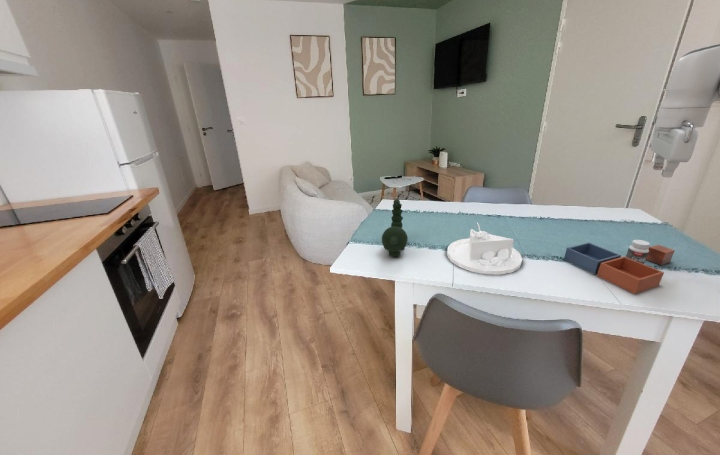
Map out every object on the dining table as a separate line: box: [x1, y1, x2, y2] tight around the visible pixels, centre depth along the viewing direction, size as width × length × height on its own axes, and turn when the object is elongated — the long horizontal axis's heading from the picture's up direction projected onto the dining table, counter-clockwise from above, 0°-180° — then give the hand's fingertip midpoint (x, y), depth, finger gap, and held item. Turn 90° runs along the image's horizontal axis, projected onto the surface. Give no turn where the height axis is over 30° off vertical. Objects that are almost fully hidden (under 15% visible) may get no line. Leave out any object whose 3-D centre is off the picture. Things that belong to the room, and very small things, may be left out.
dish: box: [446, 222, 523, 276], centre depth 102 cm, size 25×25×11 cm
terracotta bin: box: [596, 256, 665, 295], centre depth 86 cm, size 10×10×5 cm
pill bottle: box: [625, 239, 651, 265], centre depth 93 cm, size 5×5×8 cm
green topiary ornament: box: [381, 198, 409, 258], centre depth 110 cm, size 9×19×25 cm
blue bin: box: [563, 241, 622, 275], centre depth 96 cm, size 10×10×5 cm
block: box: [645, 244, 676, 266], centre depth 95 cm, size 4×4×4 cm
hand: (661, 173), depth 80 cm, fingers open, 8 cm apart
